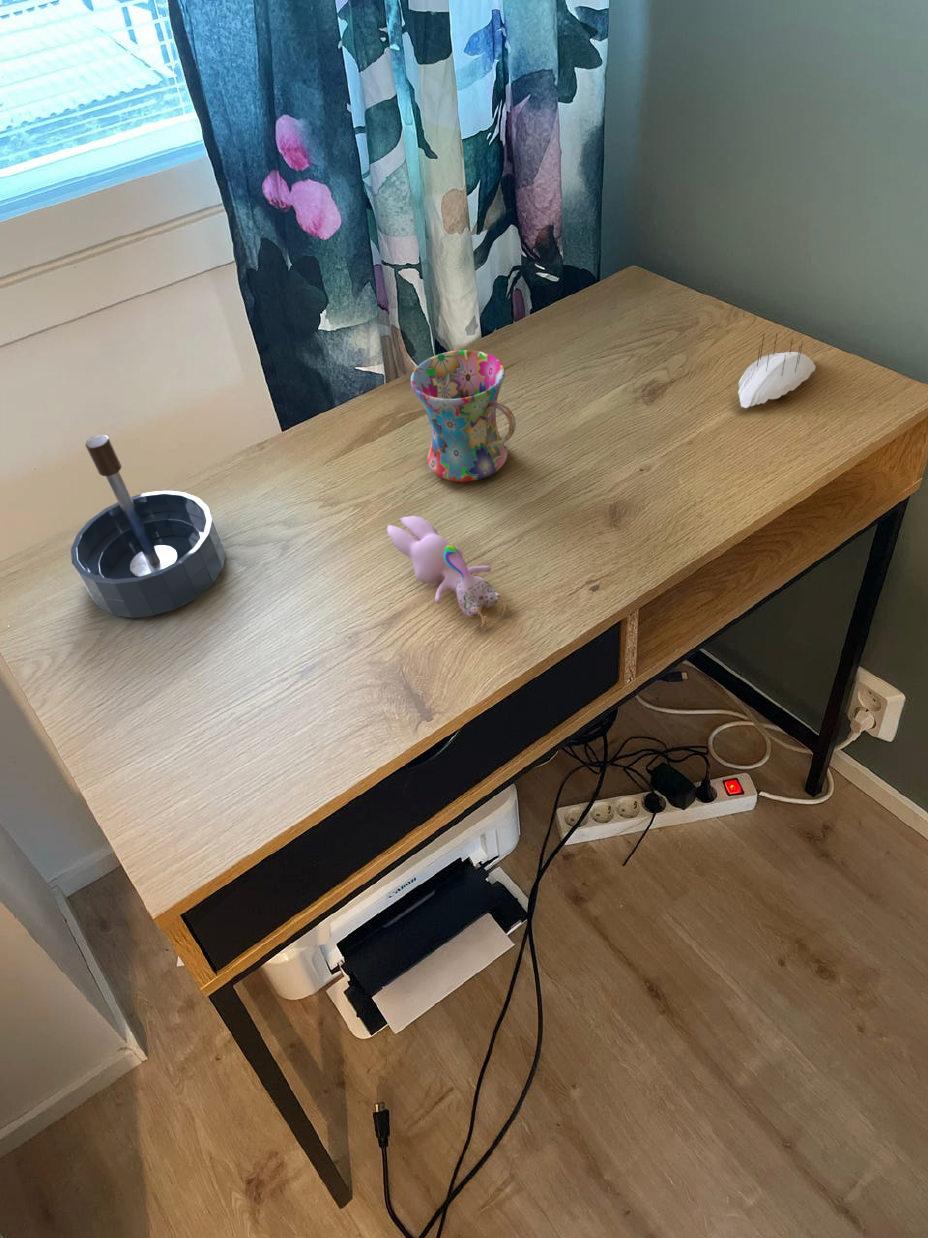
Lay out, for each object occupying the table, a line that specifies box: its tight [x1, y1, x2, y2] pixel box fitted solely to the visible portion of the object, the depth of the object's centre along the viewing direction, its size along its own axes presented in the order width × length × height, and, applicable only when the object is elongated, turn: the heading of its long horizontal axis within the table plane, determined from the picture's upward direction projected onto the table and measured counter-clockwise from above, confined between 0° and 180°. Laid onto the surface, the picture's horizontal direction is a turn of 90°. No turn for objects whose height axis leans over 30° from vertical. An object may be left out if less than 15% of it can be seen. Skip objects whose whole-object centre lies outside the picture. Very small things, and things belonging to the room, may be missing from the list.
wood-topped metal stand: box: [85, 434, 180, 577], centre depth 82 cm, size 5×5×15 cm
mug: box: [410, 349, 517, 483], centre depth 91 cm, size 12×9×11 cm
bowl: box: [70, 490, 227, 619], centre depth 86 cm, size 13×13×5 cm
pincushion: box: [737, 334, 817, 409], centre depth 97 cm, size 12×6×6 cm, turn 133°
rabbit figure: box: [386, 515, 512, 631], centre depth 80 cm, size 6×6×15 cm
